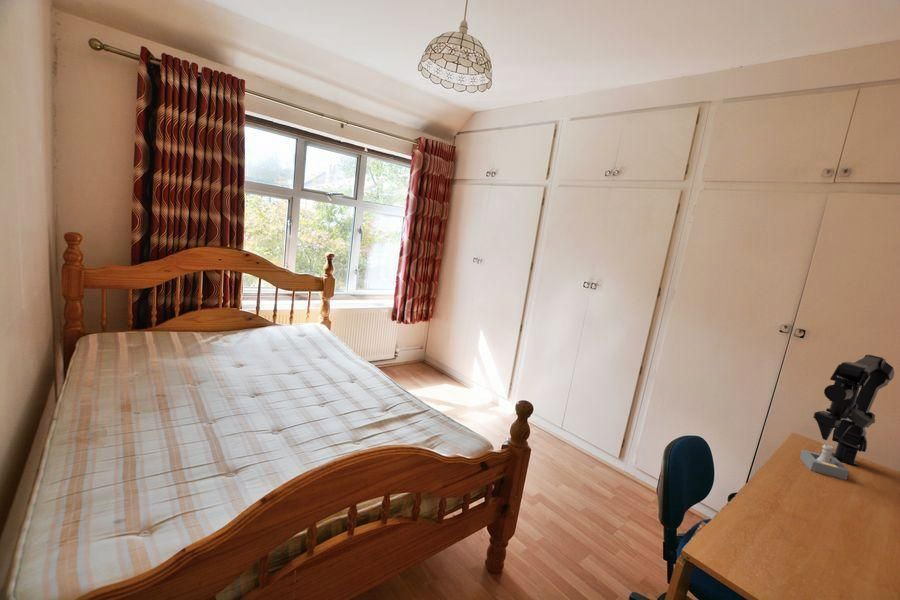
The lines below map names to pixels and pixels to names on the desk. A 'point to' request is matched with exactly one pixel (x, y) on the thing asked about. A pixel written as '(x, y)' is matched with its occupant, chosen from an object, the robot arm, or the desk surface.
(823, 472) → the grey square tray
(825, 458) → the rook chess piece
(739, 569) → the desk surface
